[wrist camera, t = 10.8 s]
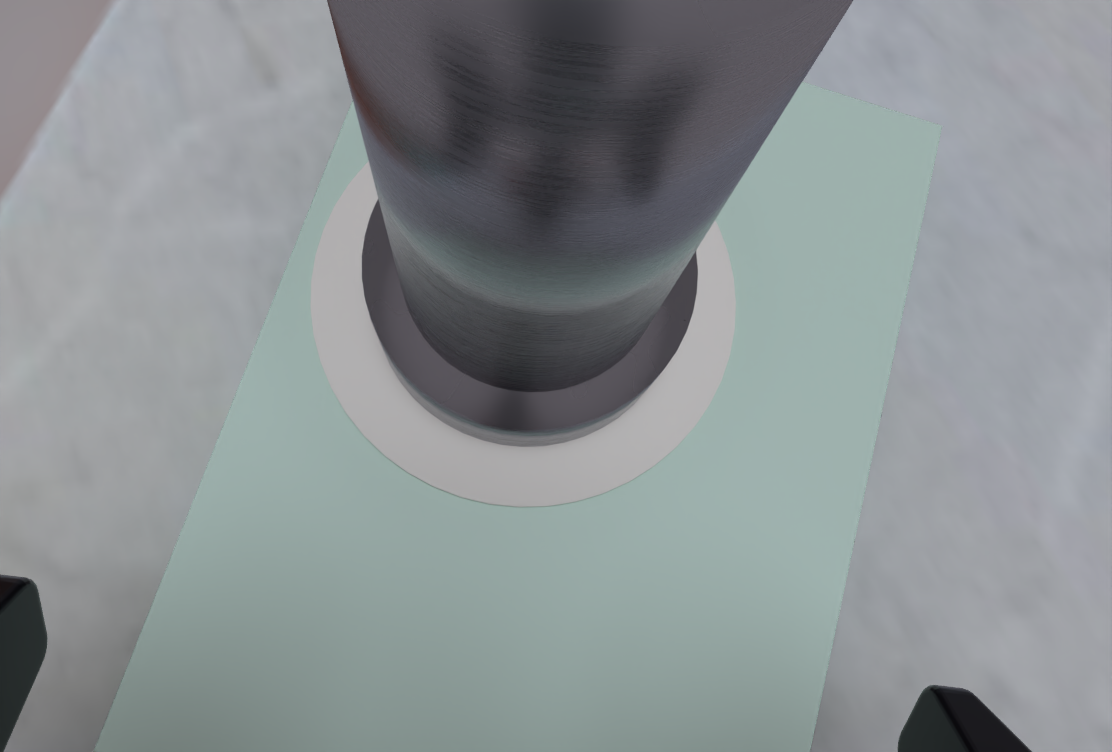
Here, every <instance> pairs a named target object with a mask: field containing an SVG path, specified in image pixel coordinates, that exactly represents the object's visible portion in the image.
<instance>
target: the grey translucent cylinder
mask: <svg viewBox="0 0 1112 752" xmlns="http://www.w3.org/2000/svg"><path fill="white" fill-rule="evenodd" d="M327 2H328V5H329V9H330V13H331V17H332V21H333V25H334V29H335V33H336V36H337V40H338V44H339V48H340V52H341V56H342V60H343V64H344V67H345V71H346V75H347V79H348V83H349V87H350V91H351V95H352V99H353V102H354V106H355V110H356V114H357V118H358V122H359V126H360V130H361V133H362V137H363V141H364V145H365V149H366V153H367V157H368V161H369V164H370V168H371V172H372V176H373V180H374V184H375V188H376V192H377V195H378V200H377V202H376V204H375V206H374V209H373V211H372V213H371V216H370V219H369V222H368V226H367V229H366V233H365V237H364V244H363V251H362V282H363V290H364V297H365V301H366V305H367V308H368V312H369V315H370V319H371V321H372V324H373V326H374V329H375V331H376V334H377V336H378V339H379V341H380V344H381V346H382V349H383V351H384V353H385V355H386V358H387V360H388V362H389V365H390V366H391V368H392V370H393V371H394V373H395V374H396V376H397V378H398V379H399V381H400V383H401V384H402V385H403V386H404V387H405V389H406V390H407V391H408V392H409V393H410V395H411V396H412V397H413V398H414V399H415V400H416V401H417V402H418V403H419V404H420V405H421V406H422V407H423V408H425V409H426V410H427V411H428V412H429V413H431V414H432V415H433V416H435V417H436V418H438V419H439V420H440V421H442V422H443V423H445V424H447V425H448V426H450V427H452V428H454V429H456V430H458V431H460V432H462V433H464V434H467V435H469V436H472V437H475V438H477V439H480V440H483V441H488V442H492V443H496V444H501V445H509V446H519V447H534V446H548V445H554V444H560V443H565V442H568V441H571V440H575V439H578V438H581V437H584V436H586V435H588V434H591V433H593V432H595V431H597V430H599V429H601V428H603V427H605V426H606V425H608V424H609V423H611V422H613V421H614V420H616V419H617V418H619V417H620V416H621V415H622V414H624V413H625V412H626V411H627V410H628V409H630V408H631V407H632V406H633V405H634V404H635V403H636V402H637V401H638V400H639V399H640V397H641V396H642V395H643V394H644V393H645V392H646V391H647V390H648V388H649V387H650V386H651V385H652V383H653V382H654V381H655V380H656V379H657V377H658V376H659V375H660V374H661V373H662V371H663V370H664V369H665V367H666V366H667V365H668V363H669V362H670V360H671V359H672V357H673V356H674V354H675V353H676V352H677V350H678V348H679V346H680V344H681V342H682V340H683V338H684V336H685V334H686V332H687V329H688V326H689V323H690V320H691V317H692V314H693V310H694V305H695V300H696V294H697V281H698V266H697V255H696V250H697V248H698V247H699V245H700V243H701V242H702V240H703V239H704V237H705V235H706V234H707V232H708V231H709V229H710V228H711V226H712V224H713V223H714V221H715V220H716V218H717V216H718V215H719V213H720V212H721V210H722V208H723V207H724V205H725V204H726V202H727V200H728V199H729V197H730V196H731V194H732V193H733V191H734V189H735V188H736V186H737V185H738V183H739V181H740V180H741V178H742V177H743V175H744V173H745V172H746V170H747V169H748V167H749V165H750V164H751V162H752V161H753V159H754V158H755V156H756V154H757V153H758V151H759V150H760V148H761V146H762V145H763V143H764V142H765V140H766V138H767V137H768V135H769V134H770V132H771V130H772V129H773V127H774V126H775V124H776V123H777V121H778V119H779V118H780V116H781V115H782V113H783V111H784V110H785V108H786V107H787V105H788V103H789V102H790V100H791V99H792V97H793V95H794V94H795V92H796V91H797V89H798V87H799V86H800V84H801V83H802V81H803V80H804V78H805V76H806V75H807V73H808V72H809V70H810V68H811V67H812V65H813V64H814V62H815V60H816V59H817V57H818V56H819V54H820V52H821V51H822V49H823V48H824V46H825V45H826V43H827V41H828V40H829V38H830V37H831V35H832V33H833V32H834V30H835V29H836V27H837V25H838V24H839V22H840V21H841V19H842V17H843V16H844V14H845V13H846V11H847V10H848V8H849V6H850V5H851V3H852V2H853V0H327Z"/></svg>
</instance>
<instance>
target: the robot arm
mask: <svg viewBox="0 0 1112 752" xmlns="http://www.w3.org/2000/svg"><path fill="white" fill-rule="evenodd" d="M46 648H47V632H46V627H45V622H44V617H43V612H42V607H41V602H40V598H39V593H38V589H37V586H36V584H35V583H34V582H33V581H32V580H31V579H28V578H25V577H16V576H8V575H0V752H3V751H4V749H5V747H6V745H7V742H8V740H9V738H10V736H11V733H12V731H13V729H14V726H15V724H16V722H17V720H18V717H19V715H20V713H21V710H22V708H23V706H24V704H25V701H26V699H27V697H28V694H29V692H30V690H31V688H32V685H33V683H34V681H35V679H36V676H37V674H38V672H39V669H40V667H41V665H42V662H43V660H44V657H45V653H46ZM898 752H1032V751H1031V750H1030V749H1029V748H1028V747H1027V746H1026V745H1025V744H1024V743H1023V742H1022V741H1021V740H1020V739H1019V738H1018V737H1017V736H1016V735H1015V734H1014V733H1013V732H1012V731H1011V730H1010V729H1009V728H1008V727H1007V726H1006V725H1005V724H1004V723H1003V722H1002V721H1001V720H1000V719H999V718H998V717H996V716H995V715H994V714H993V713H992V712H991V711H990V710H989V709H988V708H987V707H986V706H985V705H984V704H983V703H982V702H981V701H980V700H979V699H978V698H977V697H976V696H975V695H974V694H973V693H971V692H970V691H968V690H966V689H963V688H955V687H947V686H938V685H931V686H928V687H927V688H925V689H924V690H923V691H922V693H921V695H920V697H919V699H918V701H917V702H916V704H915V706H914V708H913V710H912V712H911V714H910V716H909V718H908V720H907V722H906V724H905V726H904V728H903V730H902V732H901V735H900V738H899V742H898Z"/></svg>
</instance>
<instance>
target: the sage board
mask: <svg viewBox="0 0 1112 752" xmlns="http://www.w3.org/2000/svg"><path fill="white" fill-rule="evenodd" d="M941 130H942V126H941V125H938V124H935V123H932V122H929V121H925V120H922V119H919V118H916V117H913V116H909V115H906V114H903V113H900V112H897V111H894V110H890V109H887V108H884V107H881V106H878V105H874V104H871V103H868V102H865V101H862V100H858V99H855V98H852V97H849V96H846V95H843V94H839V93H836V92H833V91H830V90H827V89H823V88H820V87H817V86H814V85H811V84H808V83H804V82H802V83H801V84H800V86H799V87H798V89H797V91H796V92H795V94H794V95H793V97H792V99H791V100H790V102H789V103H788V105H787V107H786V108H785V110H784V111H783V113H782V115H781V116H780V118H779V119H778V121H777V123H776V124H775V126H774V127H773V129H772V130H771V132H770V134H769V135H768V137H767V138H766V140H765V142H764V143H763V145H762V146H761V148H760V150H759V151H758V153H757V154H756V156H755V158H754V159H753V161H752V162H751V164H750V165H749V167H748V169H747V170H746V172H745V173H744V175H743V177H742V178H741V180H740V181H739V183H738V185H737V186H736V188H735V189H734V191H733V193H732V194H731V196H730V197H729V199H728V200H727V202H726V204H725V205H724V207H723V208H722V210H721V212H720V213H719V215H718V216H717V218H716V220H715V221H714V223H713V224H712V226H711V228H710V229H709V231H708V232H707V234H706V235H705V237H704V239H703V240H702V242H701V243H700V245H699V247H698V248H697V250H696V255H697V266H698V281H697V294H696V300H695V305H694V310H693V314H692V317H691V320H690V323H689V326H688V329H687V332H686V334H685V336H684V338H683V340H682V342H681V344H680V346H679V348H678V350H677V352H676V353H675V354H674V356H673V357H672V359H671V360H670V362H669V363H668V365H667V366H666V367H665V369H664V370H663V371H662V373H661V374H660V375H659V376H658V377H657V379H656V380H655V381H654V382H653V383H652V385H651V386H650V387H649V388H648V390H647V391H646V392H645V393H644V394H643V395H642V396H641V397H640V399H639V400H638V401H637V402H636V403H635V404H634V405H633V406H632V407H631V408H630V409H628V410H627V411H626V412H625V413H624V414H622V415H621V416H620V417H619V418H617V419H616V420H614V421H613V422H611V423H609V424H608V425H606V426H605V427H603V428H601V429H599V430H597V431H595V432H593V433H591V434H588V435H586V436H584V437H581V438H578V439H575V440H571V441H568V442H565V443H560V444H554V445H548V446H534V447H519V446H509V445H501V444H496V443H492V442H488V441H483V440H480V439H477V438H475V437H472V436H469V435H467V434H464V433H462V432H460V431H458V430H456V429H454V428H452V427H450V426H448V425H447V424H445V423H443V422H442V421H440V420H439V419H438V418H436V417H435V416H433V415H432V414H431V413H429V412H428V411H427V410H426V409H425V408H423V407H422V406H421V405H420V404H419V403H418V402H417V401H416V400H415V399H414V398H413V397H412V396H411V395H410V393H409V392H408V391H407V390H406V389H405V387H404V386H403V385H402V384H401V383H400V381H399V379H398V378H397V376H396V374H395V373H394V371H393V370H392V368H391V366H390V365H389V362H388V360H387V358H386V355H385V353H384V351H383V349H382V346H381V344H380V341H379V339H378V336H377V334H376V331H375V329H374V326H373V324H372V321H371V319H370V315H369V312H368V308H367V305H366V301H365V297H364V290H363V282H362V251H363V244H364V237H365V233H366V229H367V226H368V222H369V219H370V216H371V213H372V211H373V209H374V206H375V204H376V202H377V200H378V195H377V192H376V188H375V184H374V180H373V176H372V172H371V168H370V164H369V161H368V157H367V153H366V149H365V145H364V141H363V137H362V133H361V130H360V126H359V122H358V118H357V114H356V110H355V106H354V102H353V101H352V103H351V106H350V108H349V111H348V113H347V116H346V118H345V121H344V123H343V126H342V128H341V131H340V133H339V136H338V138H337V141H336V143H335V146H334V148H333V151H332V153H331V156H330V158H329V161H328V163H327V166H326V168H325V171H324V173H323V176H322V178H321V181H320V183H319V186H318V188H317V191H316V194H315V196H314V199H313V201H312V204H311V206H310V209H309V211H308V214H307V216H306V219H305V221H304V224H303V226H302V229H301V231H300V234H299V236H298V239H297V241H296V244H295V246H294V249H293V251H292V254H291V256H290V259H289V261H288V264H287V266H286V269H285V271H284V274H283V276H282V279H281V281H280V284H279V286H278V289H277V291H276V294H275V297H274V299H273V302H272V304H271V307H270V309H269V312H268V314H267V317H266V319H265V322H264V324H263V327H262V329H261V332H260V334H259V337H258V339H257V342H256V344H255V347H254V349H253V352H252V354H251V357H250V359H249V362H248V364H247V367H246V369H245V372H244V374H243V377H242V379H241V382H240V384H239V387H238V389H237V392H236V394H235V397H234V399H233V402H232V405H231V407H230V410H229V412H228V415H227V417H226V420H225V422H224V425H223V427H222V430H221V432H220V435H219V437H218V440H217V442H216V445H215V447H214V450H213V452H212V455H211V457H210V460H209V462H208V465H207V467H206V470H205V472H204V475H203V477H202V480H201V482H200V485H199V487H198V490H197V492H196V495H195V497H194V500H193V502H192V505H191V508H190V510H189V513H188V515H187V518H186V520H185V523H184V525H183V528H182V530H181V533H180V535H179V538H178V540H177V543H176V545H175V548H174V550H173V553H172V555H171V558H170V560H169V563H168V565H167V568H166V570H165V573H164V575H163V578H162V580H161V583H160V585H159V588H158V590H157V593H156V595H155V598H154V600H153V603H152V605H151V608H150V610H149V613H148V616H147V618H146V621H145V623H144V626H143V628H142V631H141V633H140V636H139V638H138V641H137V643H136V646H135V648H134V651H133V653H132V656H131V658H130V661H129V663H128V666H127V668H126V671H125V673H124V676H123V678H122V681H121V683H120V686H119V688H118V691H117V693H116V696H115V698H114V701H113V703H112V706H111V708H110V711H109V713H108V716H107V718H106V721H105V724H104V726H103V729H102V731H101V734H100V736H99V739H98V741H97V744H96V746H95V749H94V751H93V752H810V749H811V745H812V740H813V735H814V730H815V726H816V721H817V716H818V712H819V707H820V702H821V697H822V693H823V688H824V683H825V678H826V674H827V669H828V664H829V659H830V655H831V650H832V645H833V641H834V636H835V631H836V626H837V622H838V617H839V612H840V607H841V603H842V598H843V593H844V589H845V584H846V579H847V574H848V570H849V565H850V560H851V555H852V551H853V546H854V541H855V536H856V532H857V527H858V522H859V518H860V513H861V508H862V503H863V499H864V494H865V489H866V484H867V480H868V475H869V470H870V466H871V461H872V456H873V451H874V447H875V442H876V437H877V432H878V428H879V423H880V418H881V414H882V409H883V404H884V399H885V395H886V390H887V385H888V380H889V376H890V371H891V366H892V361H893V357H894V352H895V347H896V343H897V338H898V333H899V328H900V324H901V319H902V314H903V309H904V305H905V300H906V295H907V291H908V286H909V281H910V276H911V272H912V267H913V262H914V257H915V253H916V248H917V243H918V239H919V234H920V229H921V224H922V220H923V215H924V210H925V205H926V201H927V196H928V191H929V186H930V182H931V177H932V172H933V168H934V163H935V158H936V153H937V149H938V144H939V139H940V134H941Z"/></svg>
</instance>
